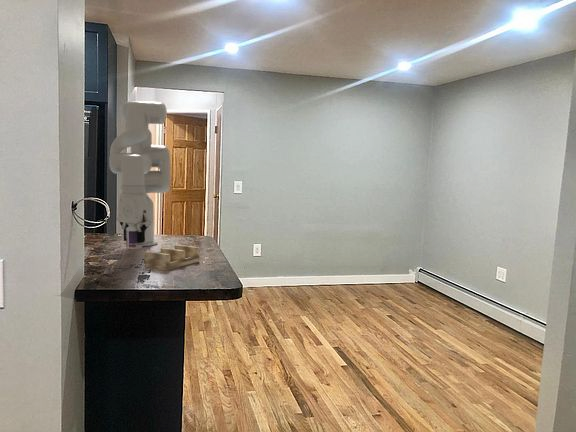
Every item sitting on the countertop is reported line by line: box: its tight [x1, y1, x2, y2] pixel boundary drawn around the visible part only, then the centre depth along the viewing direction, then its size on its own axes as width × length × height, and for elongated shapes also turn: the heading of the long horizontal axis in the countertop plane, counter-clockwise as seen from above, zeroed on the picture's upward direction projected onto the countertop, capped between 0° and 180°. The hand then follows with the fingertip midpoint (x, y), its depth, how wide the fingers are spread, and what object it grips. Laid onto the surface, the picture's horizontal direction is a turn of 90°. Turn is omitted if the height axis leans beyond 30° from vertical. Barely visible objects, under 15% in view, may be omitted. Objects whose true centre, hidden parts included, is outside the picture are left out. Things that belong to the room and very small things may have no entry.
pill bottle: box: [125, 223, 143, 250], centre depth 163 cm, size 5×5×10 cm
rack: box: [144, 244, 200, 271], centre depth 162 cm, size 10×17×5 cm, turn 154°
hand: (134, 240), depth 164 cm, fingers closed on pill bottle, 5 cm apart
